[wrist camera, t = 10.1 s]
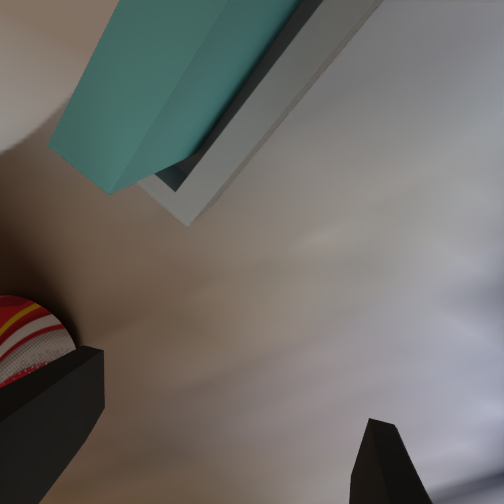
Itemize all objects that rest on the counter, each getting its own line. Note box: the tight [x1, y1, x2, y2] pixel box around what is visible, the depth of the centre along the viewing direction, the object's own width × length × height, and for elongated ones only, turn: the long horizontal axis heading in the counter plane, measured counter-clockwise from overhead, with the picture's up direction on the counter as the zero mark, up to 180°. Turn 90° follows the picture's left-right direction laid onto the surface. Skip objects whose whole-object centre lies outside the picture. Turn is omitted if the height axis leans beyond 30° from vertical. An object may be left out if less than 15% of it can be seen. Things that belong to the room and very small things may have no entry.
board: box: [47, 0, 303, 195], centre depth 12 cm, size 2×9×7 cm, turn 143°
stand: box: [136, 0, 383, 228], centre depth 15 cm, size 6×12×3 cm, turn 140°
